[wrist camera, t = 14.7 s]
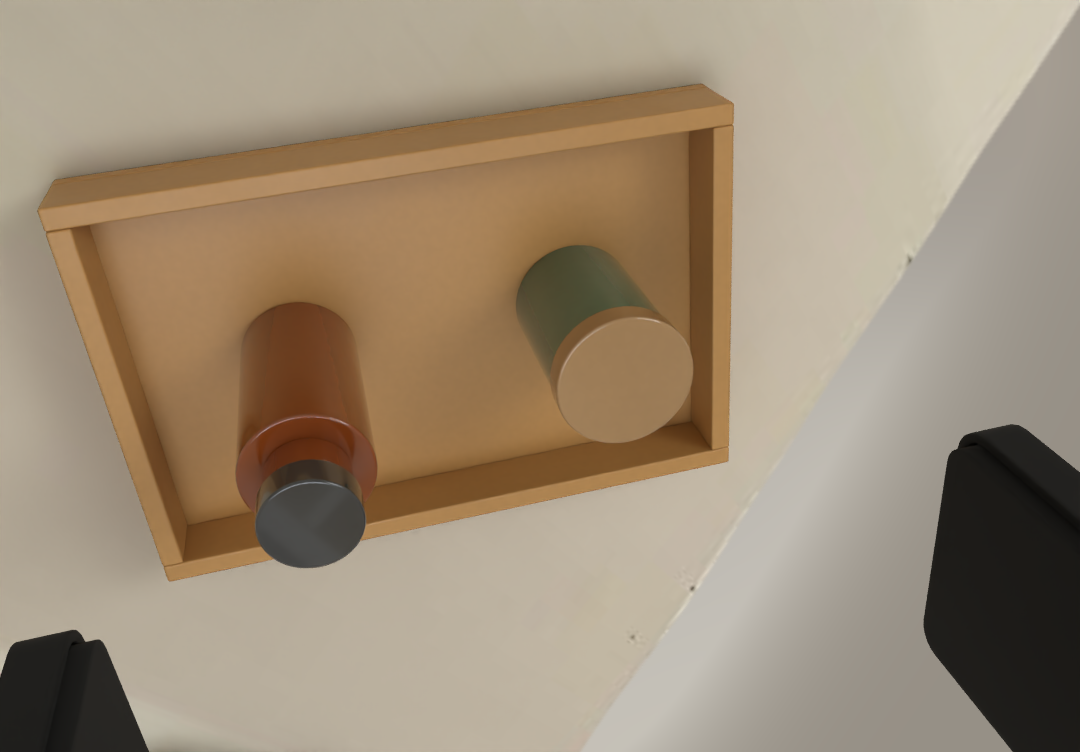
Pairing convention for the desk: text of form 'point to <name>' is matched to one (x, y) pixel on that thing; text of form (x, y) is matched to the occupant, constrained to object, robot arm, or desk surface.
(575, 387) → the jar
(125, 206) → the tray
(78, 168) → the desk surface
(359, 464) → the spice bottle
